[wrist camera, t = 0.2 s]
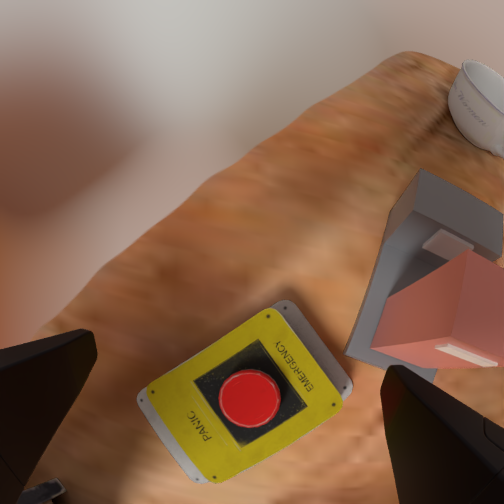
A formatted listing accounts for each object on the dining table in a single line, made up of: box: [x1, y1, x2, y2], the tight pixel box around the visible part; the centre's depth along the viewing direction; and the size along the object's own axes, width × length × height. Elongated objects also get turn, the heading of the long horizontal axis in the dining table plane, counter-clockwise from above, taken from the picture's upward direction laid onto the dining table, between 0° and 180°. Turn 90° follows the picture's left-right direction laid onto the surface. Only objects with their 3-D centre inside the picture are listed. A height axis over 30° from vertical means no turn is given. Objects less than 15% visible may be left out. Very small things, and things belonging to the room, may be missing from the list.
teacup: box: [448, 60, 504, 159], centre depth 24 cm, size 14×11×8 cm
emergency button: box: [137, 300, 353, 484], centre depth 19 cm, size 9×4×15 cm
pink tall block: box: [370, 249, 504, 368], centre depth 15 cm, size 4×5×11 cm
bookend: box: [343, 168, 503, 383], centre depth 19 cm, size 13×8×7 cm, turn 155°
